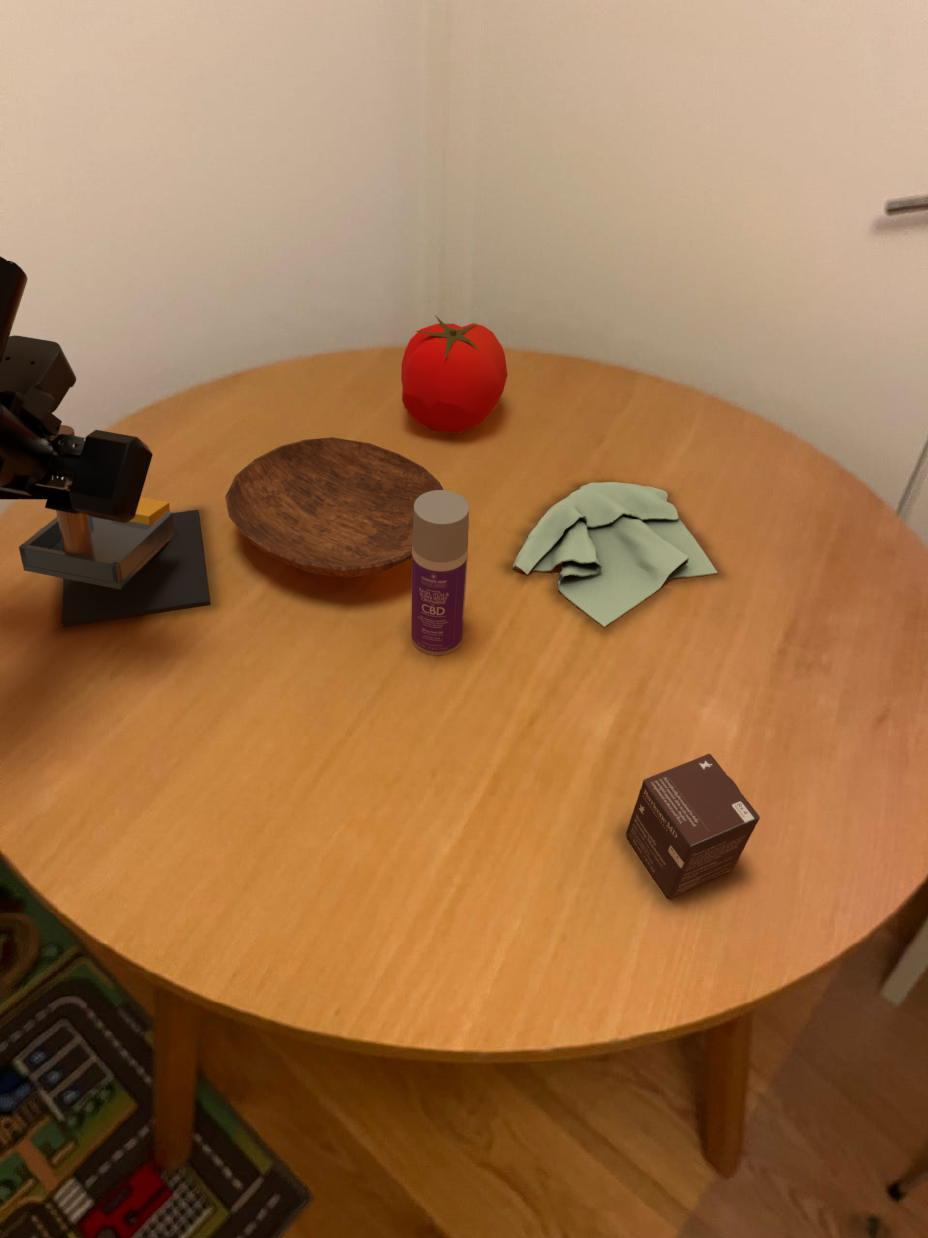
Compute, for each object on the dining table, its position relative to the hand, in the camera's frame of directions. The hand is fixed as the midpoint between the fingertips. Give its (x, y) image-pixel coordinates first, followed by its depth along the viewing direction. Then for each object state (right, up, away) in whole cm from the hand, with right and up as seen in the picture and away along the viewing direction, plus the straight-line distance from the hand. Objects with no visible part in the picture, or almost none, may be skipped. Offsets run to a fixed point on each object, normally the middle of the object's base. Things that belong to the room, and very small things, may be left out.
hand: (79, 495), depth 77 cm
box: (+49, -28, -8) cm, 57 cm away
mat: (+1, -5, +12) cm, 13 cm away
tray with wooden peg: (0, -4, +5) cm, 7 cm away
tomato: (+31, +14, +33) cm, 47 cm away
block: (+1, -2, +10) cm, 10 cm away
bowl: (+20, -2, +16) cm, 26 cm away
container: (+30, -12, +7) cm, 33 cm away
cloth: (+47, -3, +17) cm, 50 cm away
